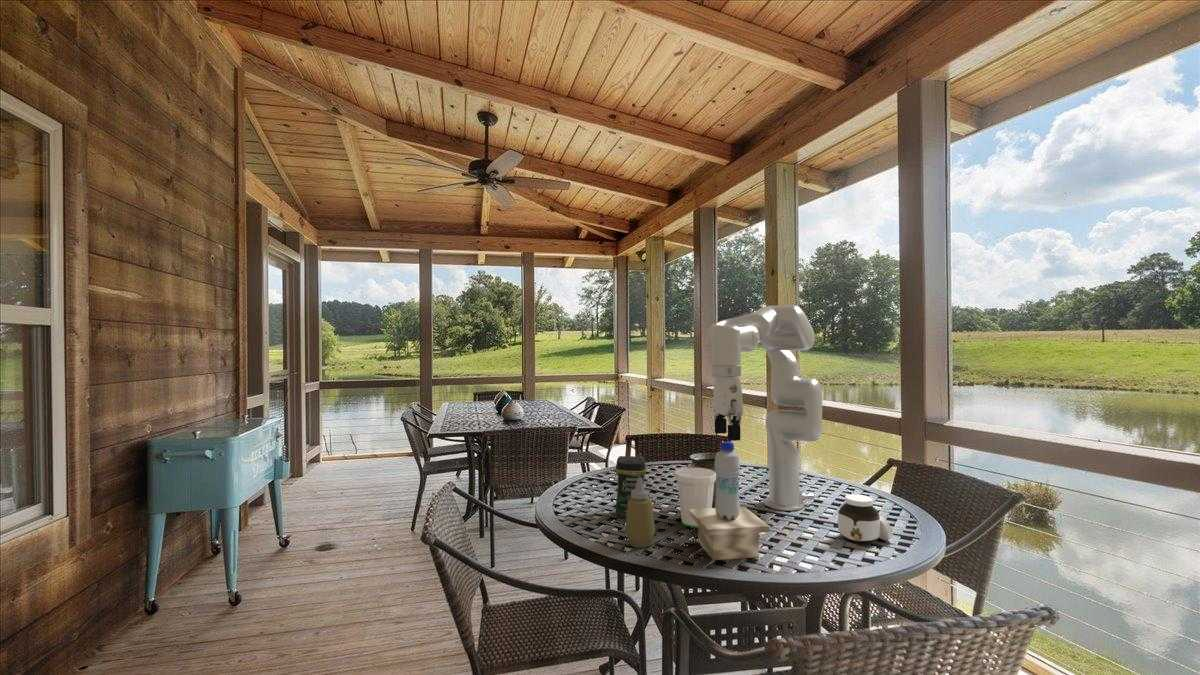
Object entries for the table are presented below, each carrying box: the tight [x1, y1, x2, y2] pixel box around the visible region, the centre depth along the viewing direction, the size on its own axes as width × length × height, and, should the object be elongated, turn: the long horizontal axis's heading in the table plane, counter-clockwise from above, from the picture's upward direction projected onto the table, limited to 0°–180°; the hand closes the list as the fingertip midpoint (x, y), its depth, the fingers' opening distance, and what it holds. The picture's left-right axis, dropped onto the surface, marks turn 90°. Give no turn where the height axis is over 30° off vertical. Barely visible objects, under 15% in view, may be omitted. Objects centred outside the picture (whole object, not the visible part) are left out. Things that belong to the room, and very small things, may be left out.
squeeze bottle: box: [624, 478, 656, 549], centre depth 148 cm, size 8×8×18 cm
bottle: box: [713, 440, 741, 520], centre depth 144 cm, size 7×7×20 cm
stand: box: [689, 506, 770, 561], centre depth 143 cm, size 16×16×8 cm
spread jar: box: [837, 494, 894, 546], centre depth 150 cm, size 12×11×12 cm
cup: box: [674, 467, 716, 529], centre depth 164 cm, size 12×12×15 cm
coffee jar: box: [615, 455, 647, 519], centre depth 172 cm, size 10×8×19 cm
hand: (727, 436), depth 144 cm, fingers open, 9 cm apart
